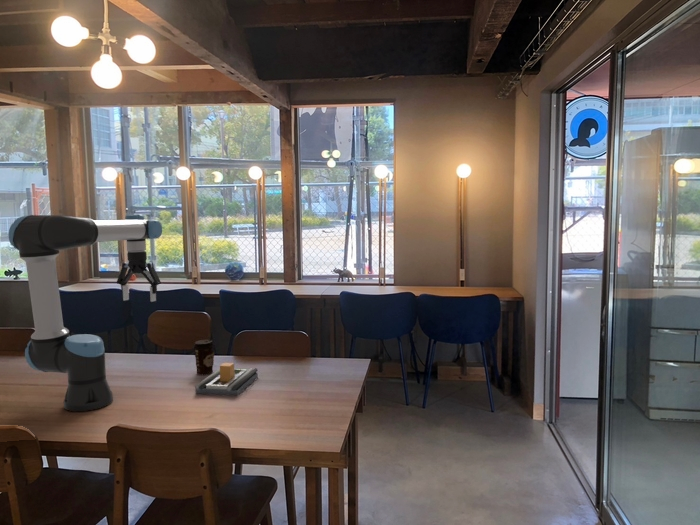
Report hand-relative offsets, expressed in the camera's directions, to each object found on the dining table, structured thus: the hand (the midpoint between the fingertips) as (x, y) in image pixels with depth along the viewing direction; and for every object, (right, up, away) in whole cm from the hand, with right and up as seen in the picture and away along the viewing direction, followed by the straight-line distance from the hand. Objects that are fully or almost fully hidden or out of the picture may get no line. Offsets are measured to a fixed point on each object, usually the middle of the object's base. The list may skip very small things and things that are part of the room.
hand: (139, 300), depth 228 cm
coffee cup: (+32, -28, -14) cm, 45 cm away
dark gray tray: (+44, -28, -29) cm, 60 cm away
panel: (+44, -30, -29) cm, 60 cm away
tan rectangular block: (+44, -27, -29) cm, 60 cm away
